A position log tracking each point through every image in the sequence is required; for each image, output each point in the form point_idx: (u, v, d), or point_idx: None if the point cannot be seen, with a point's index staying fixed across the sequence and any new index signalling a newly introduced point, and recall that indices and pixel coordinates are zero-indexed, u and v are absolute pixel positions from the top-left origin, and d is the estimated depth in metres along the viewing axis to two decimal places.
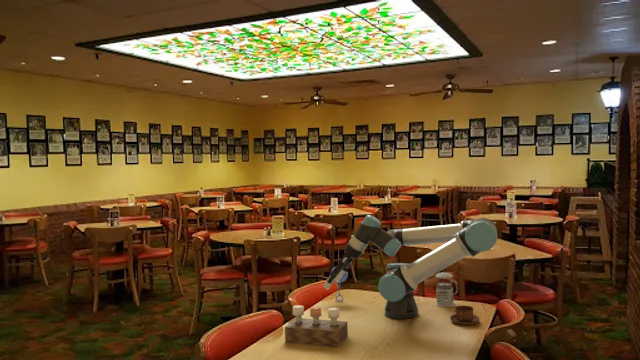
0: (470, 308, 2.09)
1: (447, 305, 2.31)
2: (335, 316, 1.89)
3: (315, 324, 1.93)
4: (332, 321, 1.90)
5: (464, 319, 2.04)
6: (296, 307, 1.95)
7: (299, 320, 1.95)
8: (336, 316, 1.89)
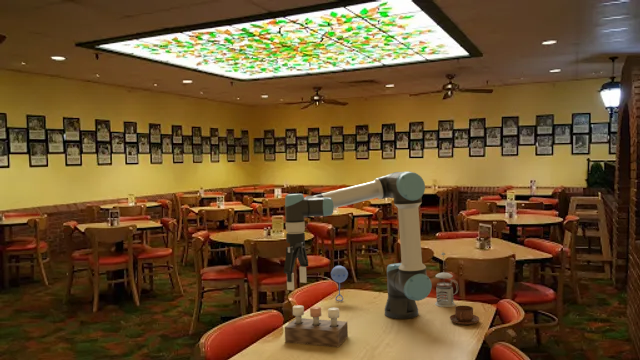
0: (470, 308, 2.09)
1: (447, 305, 2.31)
2: (335, 316, 1.89)
3: (315, 324, 1.93)
4: (332, 321, 1.90)
5: (464, 319, 2.04)
6: (296, 307, 1.95)
7: (299, 320, 1.95)
8: (336, 316, 1.89)
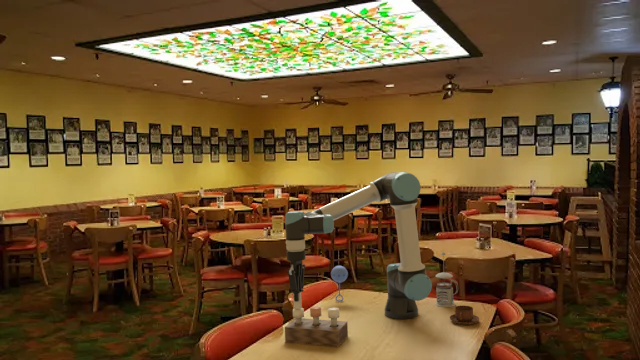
0: (470, 308, 2.09)
1: (447, 305, 2.31)
2: (335, 316, 1.89)
3: (315, 324, 1.93)
4: (332, 321, 1.90)
5: (464, 319, 2.04)
6: (296, 309, 1.95)
7: (299, 322, 1.95)
8: (336, 316, 1.89)
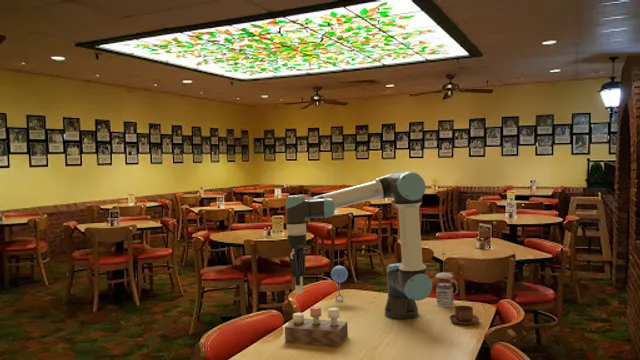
0: (470, 308, 2.10)
1: (447, 305, 2.31)
2: (335, 316, 1.89)
3: (315, 324, 1.93)
4: (332, 321, 1.90)
5: (464, 319, 2.05)
6: (296, 314, 1.96)
7: None
8: (336, 316, 1.89)
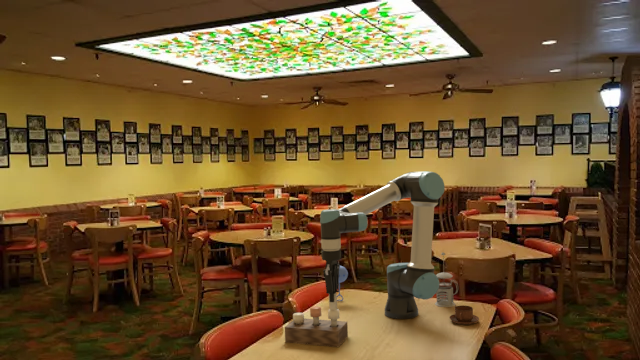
0: (469, 308, 2.10)
1: (447, 305, 2.31)
2: (335, 317, 1.89)
3: (315, 324, 1.93)
4: (332, 322, 1.90)
5: (464, 319, 2.05)
6: (296, 314, 1.96)
7: None
8: (336, 317, 1.89)
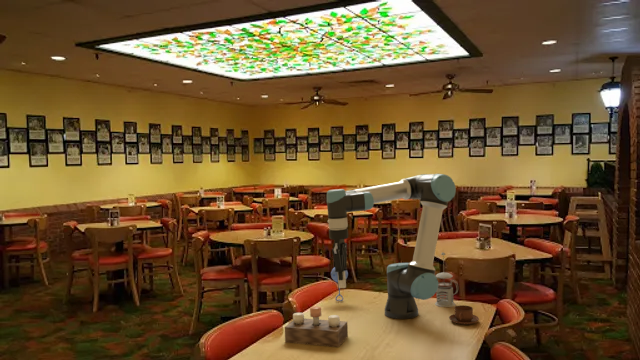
0: (469, 308, 2.10)
1: (447, 305, 2.31)
2: (336, 324, 1.89)
3: (315, 324, 1.93)
4: None
5: (463, 319, 2.05)
6: (296, 314, 1.96)
7: None
8: (336, 324, 1.89)
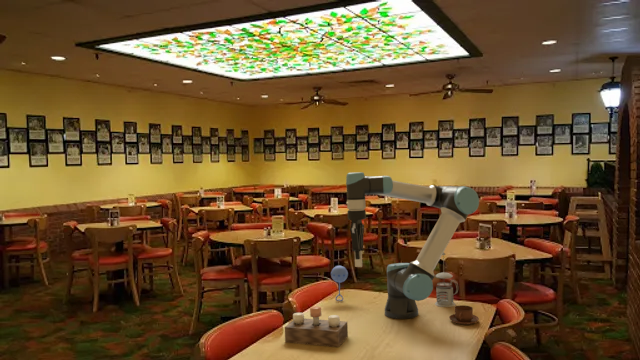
0: (469, 308, 2.10)
1: (447, 305, 2.31)
2: (336, 324, 1.89)
3: (315, 324, 1.93)
4: None
5: (463, 319, 2.05)
6: (296, 314, 1.96)
7: None
8: (336, 324, 1.89)
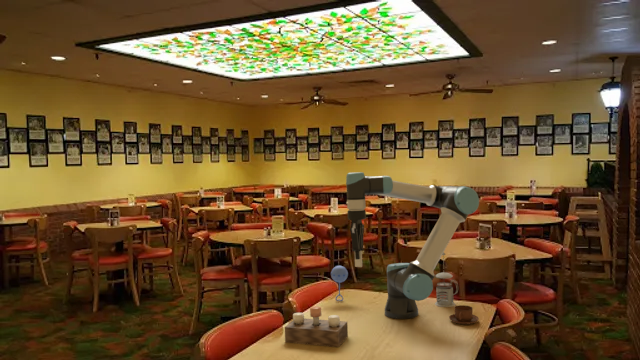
0: (469, 308, 2.10)
1: (447, 305, 2.31)
2: (336, 324, 1.89)
3: (315, 324, 1.93)
4: None
5: (463, 319, 2.05)
6: (296, 314, 1.96)
7: None
8: (336, 324, 1.89)
